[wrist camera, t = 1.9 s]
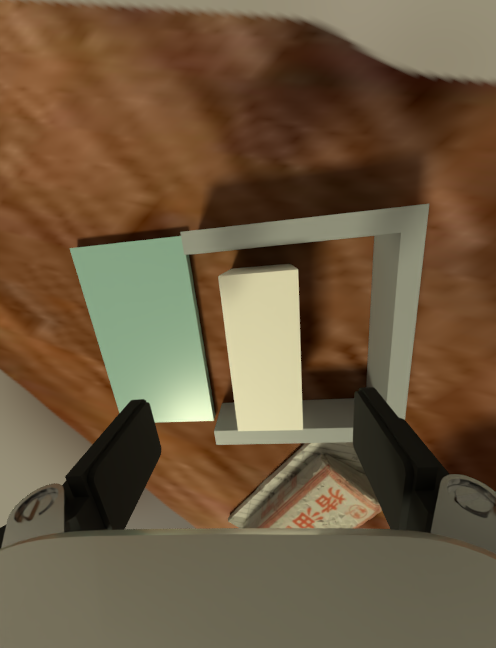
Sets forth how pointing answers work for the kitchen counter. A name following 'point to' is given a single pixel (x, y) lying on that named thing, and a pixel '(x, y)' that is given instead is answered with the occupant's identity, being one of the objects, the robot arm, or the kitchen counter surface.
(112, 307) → the pad
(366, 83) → the kitchen counter surface
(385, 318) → the frame
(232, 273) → the carton
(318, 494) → the packaged product
